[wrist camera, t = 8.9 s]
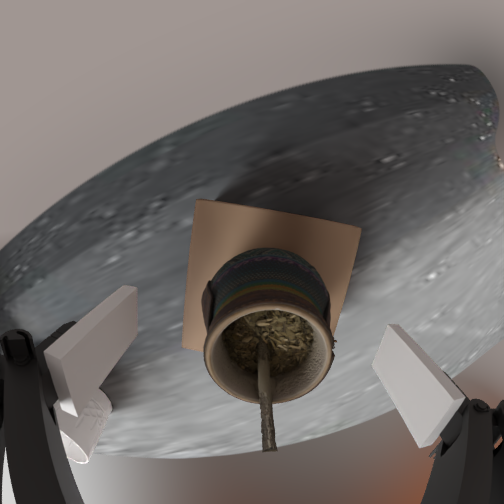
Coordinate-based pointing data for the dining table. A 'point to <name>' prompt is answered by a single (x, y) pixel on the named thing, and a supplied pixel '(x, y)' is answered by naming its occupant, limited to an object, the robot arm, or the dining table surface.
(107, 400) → the white cup
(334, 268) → the walnut stool
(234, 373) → the mate gourd
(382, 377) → the robot arm
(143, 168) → the dining table surface
